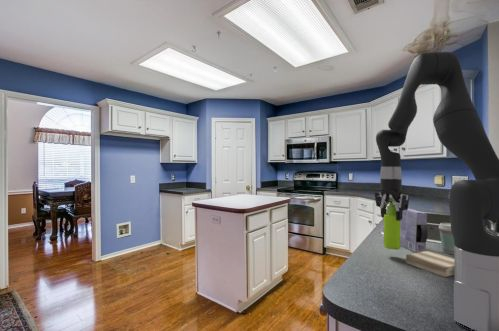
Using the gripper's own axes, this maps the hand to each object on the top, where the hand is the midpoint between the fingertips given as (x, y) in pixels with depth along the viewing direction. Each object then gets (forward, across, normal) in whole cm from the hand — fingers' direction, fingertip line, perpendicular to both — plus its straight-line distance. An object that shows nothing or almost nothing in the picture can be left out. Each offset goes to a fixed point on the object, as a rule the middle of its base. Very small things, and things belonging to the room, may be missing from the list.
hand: (391, 218), depth 98 cm
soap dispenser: (+12, 0, 0) cm, 12 cm away
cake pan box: (+16, -6, +19) cm, 26 cm away
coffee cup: (+16, +6, +29) cm, 34 cm away
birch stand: (+16, +13, +6) cm, 21 cm away
